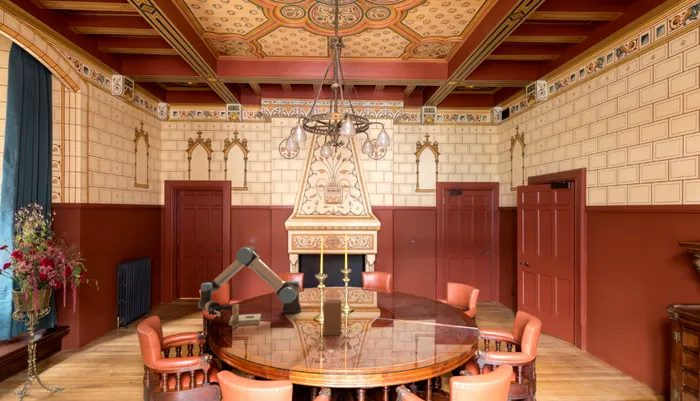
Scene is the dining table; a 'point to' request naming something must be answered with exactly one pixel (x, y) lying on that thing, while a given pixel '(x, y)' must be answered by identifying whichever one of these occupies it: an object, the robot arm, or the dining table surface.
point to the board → (247, 319)
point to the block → (332, 317)
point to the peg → (235, 315)
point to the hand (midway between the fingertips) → (229, 312)
